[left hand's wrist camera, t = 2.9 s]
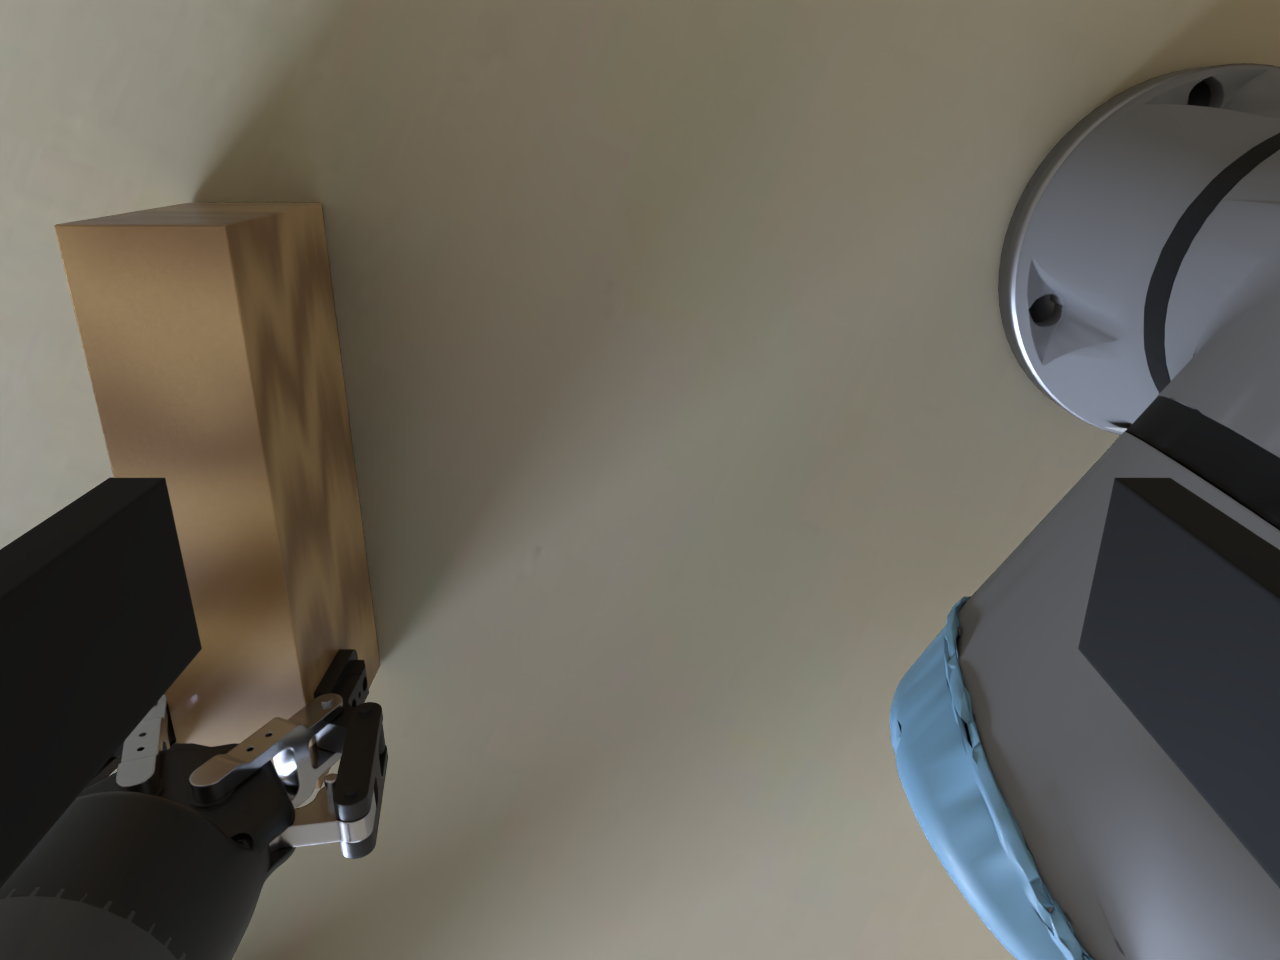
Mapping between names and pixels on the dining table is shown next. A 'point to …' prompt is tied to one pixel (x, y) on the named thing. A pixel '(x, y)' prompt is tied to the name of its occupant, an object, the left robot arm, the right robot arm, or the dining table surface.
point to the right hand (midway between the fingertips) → (283, 666)
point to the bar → (233, 441)
